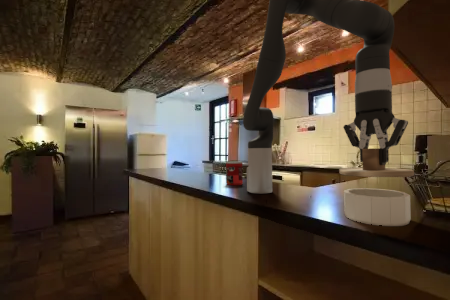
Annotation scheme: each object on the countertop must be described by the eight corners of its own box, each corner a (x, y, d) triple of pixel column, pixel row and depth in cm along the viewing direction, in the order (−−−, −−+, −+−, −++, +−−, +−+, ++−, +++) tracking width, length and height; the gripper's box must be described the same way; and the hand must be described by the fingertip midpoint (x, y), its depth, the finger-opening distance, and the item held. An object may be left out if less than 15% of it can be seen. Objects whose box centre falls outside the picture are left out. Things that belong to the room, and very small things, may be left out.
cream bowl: (334, 217, 60) (334, 192, 60) (359, 208, 68) (358, 186, 68) (397, 230, 50) (396, 200, 50) (417, 218, 58) (416, 192, 58)
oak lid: (327, 174, 60) (327, 149, 60) (356, 170, 69) (355, 148, 69) (400, 178, 48) (399, 148, 48) (422, 173, 57) (422, 147, 57)
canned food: (224, 183, 123) (223, 161, 123) (239, 183, 126) (238, 161, 126) (229, 185, 116) (228, 162, 116) (245, 184, 118) (244, 161, 118)
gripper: (335, 95, 62) (337, 164, 62) (402, 82, 51) (403, 166, 51) (350, 99, 67) (351, 163, 67) (413, 88, 56) (415, 164, 56)
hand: (374, 164), depth 59 cm, fingers closed on oak lid, 3 cm apart
